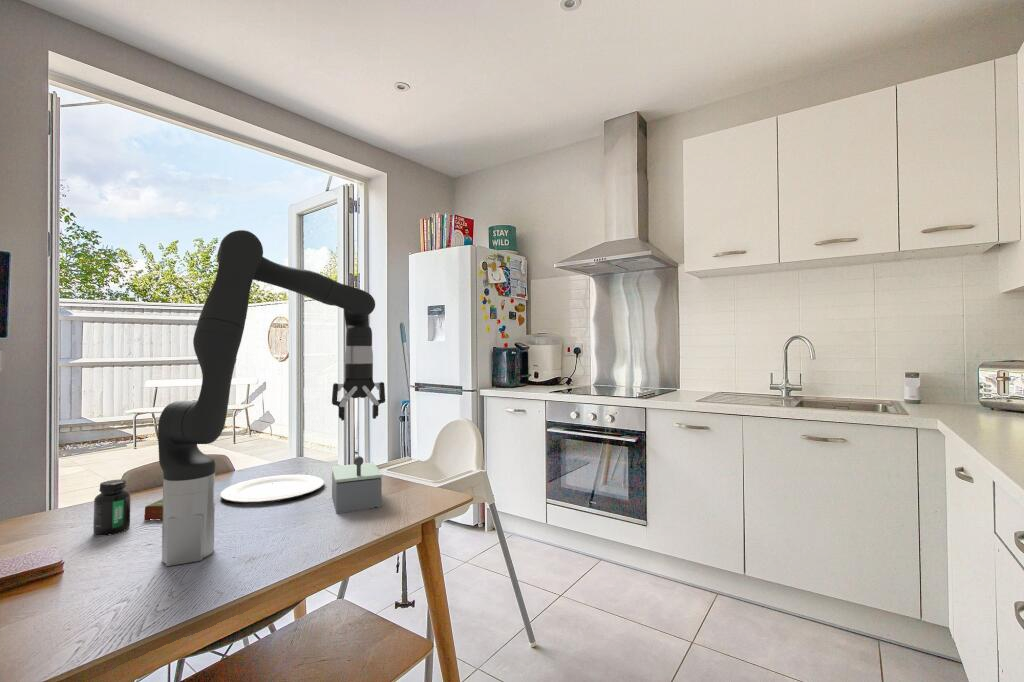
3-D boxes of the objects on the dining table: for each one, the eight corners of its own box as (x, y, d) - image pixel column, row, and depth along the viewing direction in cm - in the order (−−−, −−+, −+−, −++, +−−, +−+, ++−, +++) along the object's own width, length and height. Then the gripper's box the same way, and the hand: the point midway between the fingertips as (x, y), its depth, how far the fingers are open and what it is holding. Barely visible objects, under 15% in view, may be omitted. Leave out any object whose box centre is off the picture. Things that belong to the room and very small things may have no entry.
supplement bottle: (125, 533, 112) (127, 483, 112) (88, 538, 109) (90, 487, 109) (133, 523, 118) (134, 476, 118) (98, 528, 115) (99, 480, 115)
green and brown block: (213, 501, 136) (213, 487, 137) (176, 521, 120) (176, 505, 120) (184, 502, 136) (185, 487, 136) (143, 522, 120) (143, 505, 120)
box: (381, 507, 130) (381, 478, 130) (336, 513, 125) (336, 483, 125) (372, 491, 145) (372, 466, 145) (331, 497, 140) (332, 470, 140)
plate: (342, 488, 149) (343, 482, 149) (250, 514, 125) (250, 507, 125) (292, 475, 166) (293, 470, 166) (202, 496, 141) (202, 490, 142)
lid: (382, 477, 130) (382, 455, 131) (335, 482, 125) (336, 460, 125) (373, 464, 145) (373, 445, 145) (331, 469, 140) (331, 449, 140)
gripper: (333, 362, 124) (332, 422, 124) (387, 362, 130) (386, 419, 130) (331, 362, 131) (330, 419, 130) (382, 361, 137) (382, 416, 137)
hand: (358, 419), depth 130 cm, fingers open, 8 cm apart
